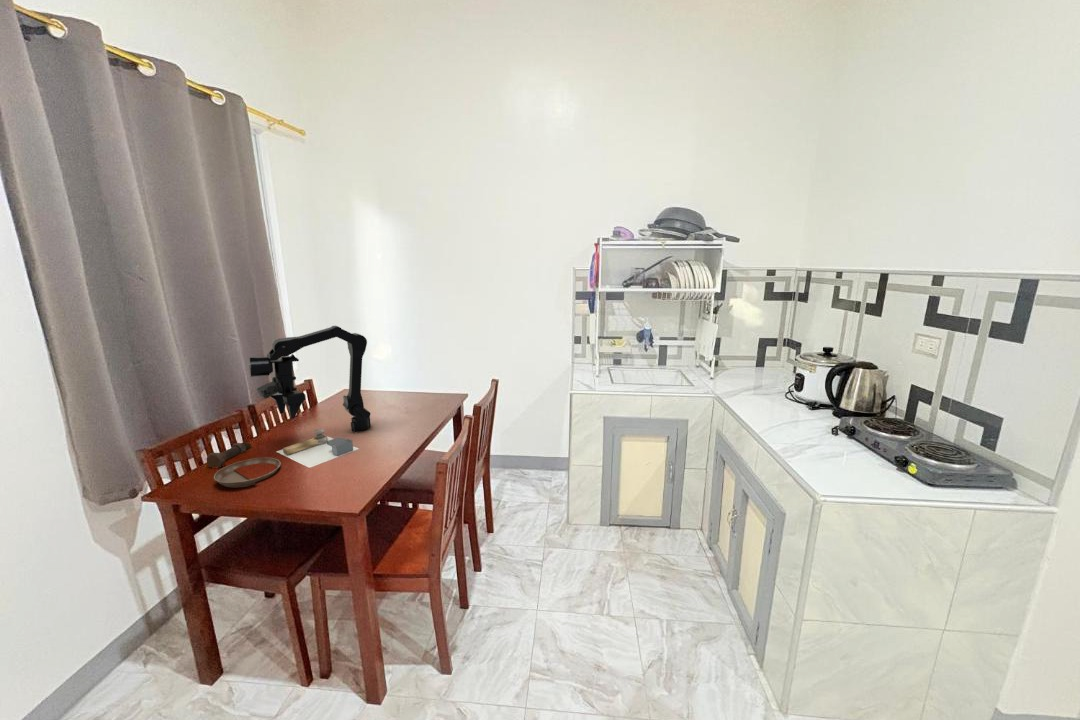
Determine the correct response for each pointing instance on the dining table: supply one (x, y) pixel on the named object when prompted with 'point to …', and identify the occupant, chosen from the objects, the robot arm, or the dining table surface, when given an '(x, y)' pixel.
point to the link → (307, 443)
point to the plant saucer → (235, 479)
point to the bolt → (227, 454)
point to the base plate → (314, 454)
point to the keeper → (340, 446)
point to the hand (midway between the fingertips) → (287, 416)
